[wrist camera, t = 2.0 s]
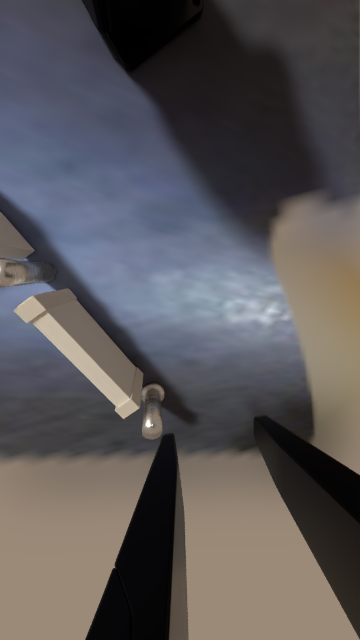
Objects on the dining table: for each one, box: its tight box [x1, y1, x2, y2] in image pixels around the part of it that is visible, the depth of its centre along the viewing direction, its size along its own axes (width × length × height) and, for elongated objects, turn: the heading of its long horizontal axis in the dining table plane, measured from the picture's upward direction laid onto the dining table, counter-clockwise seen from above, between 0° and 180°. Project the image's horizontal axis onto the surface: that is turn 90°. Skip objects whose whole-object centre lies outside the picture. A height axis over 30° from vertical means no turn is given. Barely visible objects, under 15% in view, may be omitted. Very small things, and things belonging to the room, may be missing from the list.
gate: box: [14, 288, 143, 419], centre depth 15 cm, size 10×2×5 cm, turn 34°
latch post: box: [141, 383, 164, 439], centre depth 18 cm, size 2×2×5 cm
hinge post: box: [0, 259, 57, 287], centre depth 13 cm, size 2×2×5 cm
